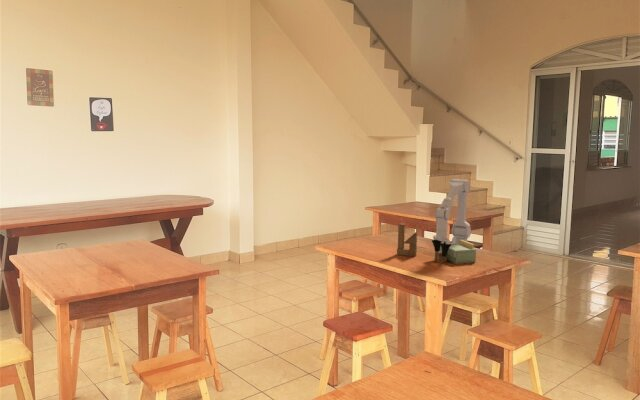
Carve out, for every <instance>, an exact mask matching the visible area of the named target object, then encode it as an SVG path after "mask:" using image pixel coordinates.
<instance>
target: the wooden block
mask: <svg viewBox="0 0 640 400" xmlns="http://www.w3.org/2000/svg"><path fill="white" fill-rule="evenodd" d="M405 225H406V224H405V223H398V226H397V233H398V234H397V248H396V256H405V257H414V258H415V257H416V256H417V247H418V244H417V243H418V231H415V232H414V233H413V234H412V235H411V236H410V237H408V239H406V240H405V234H406V233H405V232H406V231H405V230H406V228H405ZM405 244H406V245H407V244H408V247H409V248H405Z"/></svg>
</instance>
